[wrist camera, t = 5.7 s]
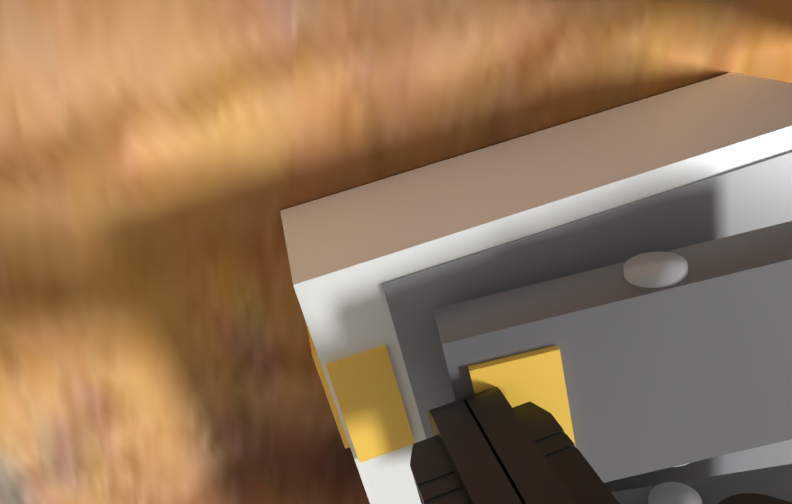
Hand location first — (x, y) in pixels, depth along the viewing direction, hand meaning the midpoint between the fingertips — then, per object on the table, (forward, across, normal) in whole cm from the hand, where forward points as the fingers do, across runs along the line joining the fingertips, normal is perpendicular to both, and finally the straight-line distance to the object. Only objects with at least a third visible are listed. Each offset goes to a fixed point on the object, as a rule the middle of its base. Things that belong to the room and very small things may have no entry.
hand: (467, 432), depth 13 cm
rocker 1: (0, -4, 0) cm, 5 cm away
